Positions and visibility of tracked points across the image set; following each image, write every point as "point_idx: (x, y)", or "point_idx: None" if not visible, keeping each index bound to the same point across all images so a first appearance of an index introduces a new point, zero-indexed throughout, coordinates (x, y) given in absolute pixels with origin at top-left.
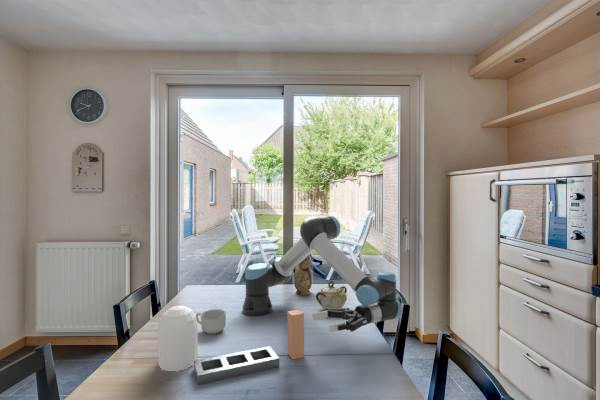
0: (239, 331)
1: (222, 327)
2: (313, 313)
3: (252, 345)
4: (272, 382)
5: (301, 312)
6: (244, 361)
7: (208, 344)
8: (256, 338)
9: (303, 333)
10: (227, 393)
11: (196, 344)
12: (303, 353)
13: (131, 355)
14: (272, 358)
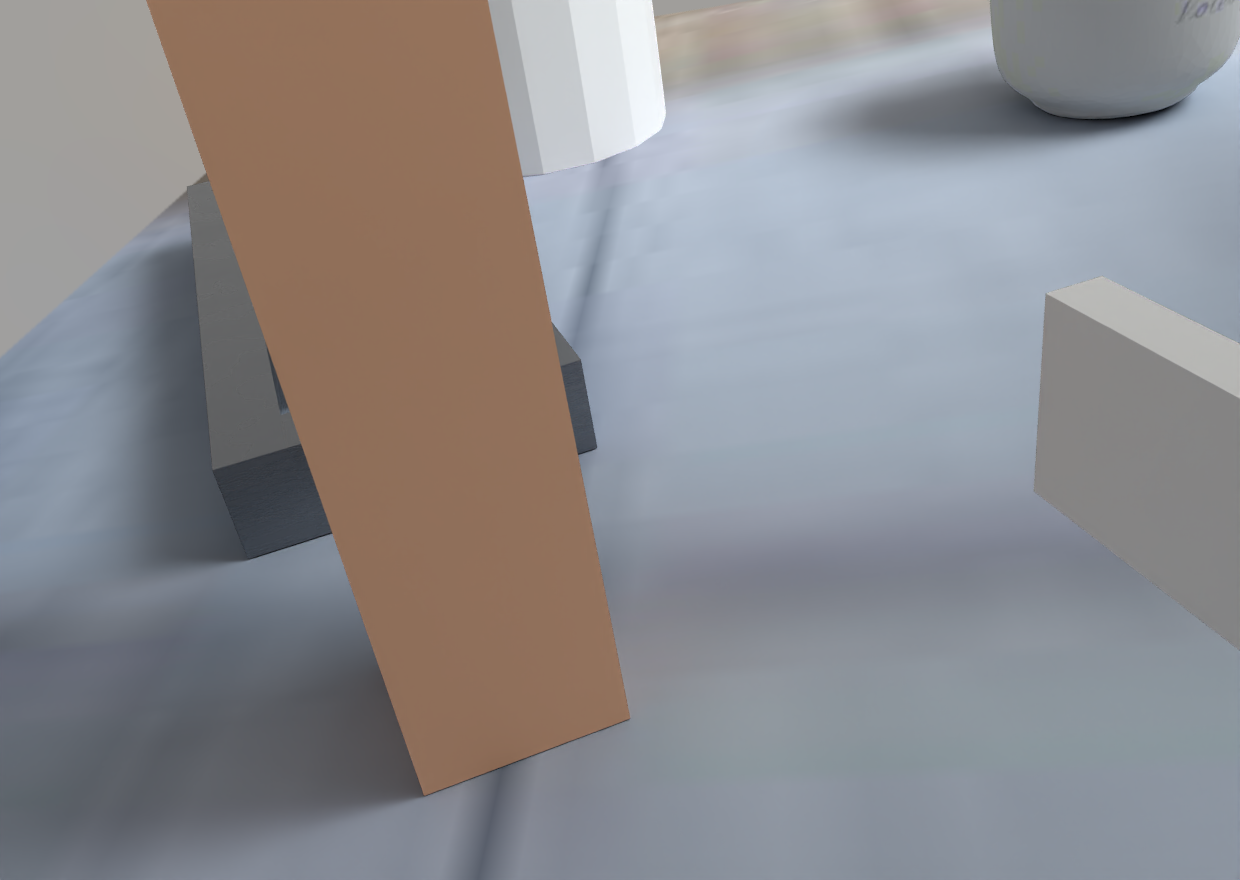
0: (1179, 186)
1: (1082, 76)
2: (1082, 297)
3: (828, 311)
4: None
5: None
6: None
7: (823, 142)
8: (1030, 301)
9: (300, 439)
10: (6, 361)
11: (497, 43)
12: (405, 740)
13: (659, 33)
14: (233, 423)
